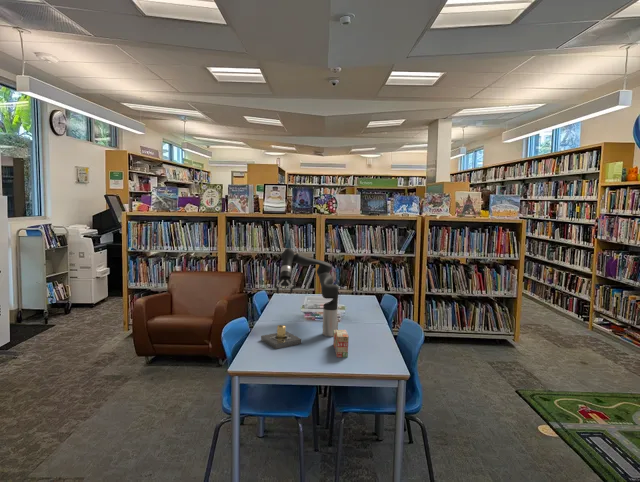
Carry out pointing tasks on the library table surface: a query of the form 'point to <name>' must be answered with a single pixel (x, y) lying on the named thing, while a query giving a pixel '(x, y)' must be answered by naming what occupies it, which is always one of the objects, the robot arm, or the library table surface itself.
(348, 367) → the library table surface
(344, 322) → the library table surface
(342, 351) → the stack of blocks
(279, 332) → the brass sleeve
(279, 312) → the library table surface
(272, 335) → the plate
